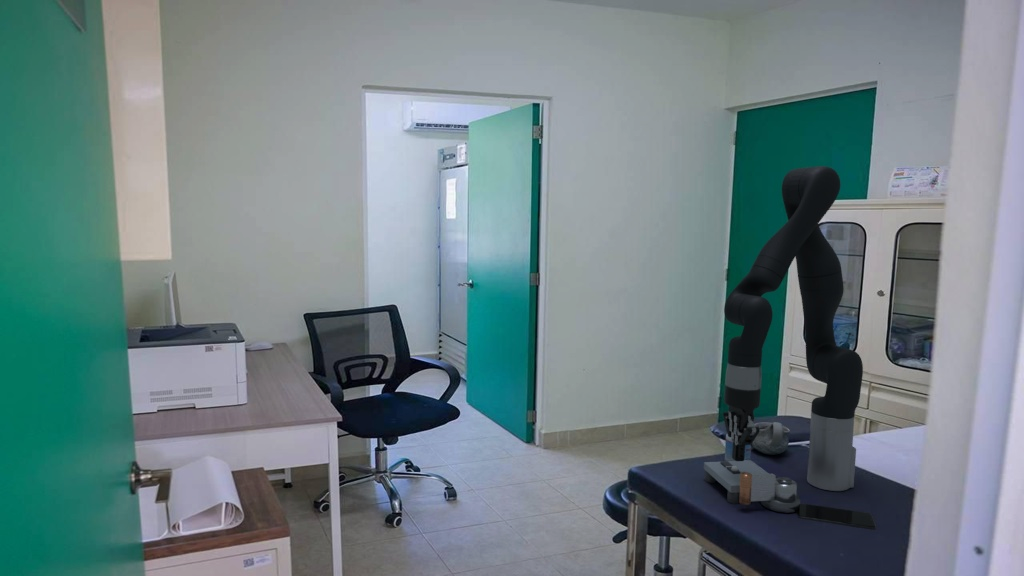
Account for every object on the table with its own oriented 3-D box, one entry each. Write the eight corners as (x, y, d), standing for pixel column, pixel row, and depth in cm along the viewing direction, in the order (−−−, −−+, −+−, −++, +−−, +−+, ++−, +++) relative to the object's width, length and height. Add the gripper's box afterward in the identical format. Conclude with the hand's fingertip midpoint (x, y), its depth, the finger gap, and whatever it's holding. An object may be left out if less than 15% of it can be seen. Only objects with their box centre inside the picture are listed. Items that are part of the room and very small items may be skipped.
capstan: (787, 495, 152) (788, 462, 152) (807, 511, 145) (809, 476, 144) (728, 499, 150) (729, 465, 150) (745, 515, 143) (747, 479, 142)
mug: (779, 446, 186) (781, 411, 185) (800, 463, 174) (803, 425, 172) (744, 446, 185) (746, 411, 184) (764, 463, 173) (766, 425, 172)
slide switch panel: (749, 476, 164) (750, 454, 164) (780, 501, 150) (782, 476, 150) (703, 479, 162) (704, 456, 162) (730, 504, 149) (731, 479, 148)
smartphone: (797, 519, 142) (876, 531, 137) (797, 516, 142) (877, 527, 137) (795, 505, 149) (871, 516, 144) (795, 502, 149) (871, 512, 144)
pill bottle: (751, 474, 166) (753, 429, 165) (725, 471, 167) (727, 428, 166) (748, 465, 172) (750, 422, 171) (723, 463, 173) (725, 420, 172)
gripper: (774, 392, 143) (769, 470, 145) (744, 377, 156) (739, 449, 158) (741, 392, 142) (736, 471, 144) (713, 377, 155) (709, 450, 157)
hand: (737, 459), depth 151 cm, fingers closed
